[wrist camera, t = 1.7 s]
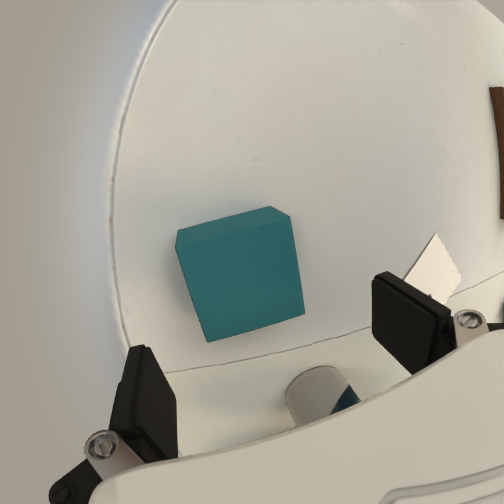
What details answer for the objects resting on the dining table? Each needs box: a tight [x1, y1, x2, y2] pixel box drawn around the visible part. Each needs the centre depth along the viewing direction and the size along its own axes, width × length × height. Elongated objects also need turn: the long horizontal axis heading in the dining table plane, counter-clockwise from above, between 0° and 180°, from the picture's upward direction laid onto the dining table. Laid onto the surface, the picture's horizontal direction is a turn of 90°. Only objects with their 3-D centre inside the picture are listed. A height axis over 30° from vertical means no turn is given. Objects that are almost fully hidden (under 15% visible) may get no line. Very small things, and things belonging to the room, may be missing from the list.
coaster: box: [404, 233, 462, 305], centre depth 23 cm, size 8×8×1 cm
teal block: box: [175, 206, 305, 342], centre depth 17 cm, size 6×6×4 cm
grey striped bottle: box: [286, 367, 361, 428], centre depth 14 cm, size 6×6×20 cm
